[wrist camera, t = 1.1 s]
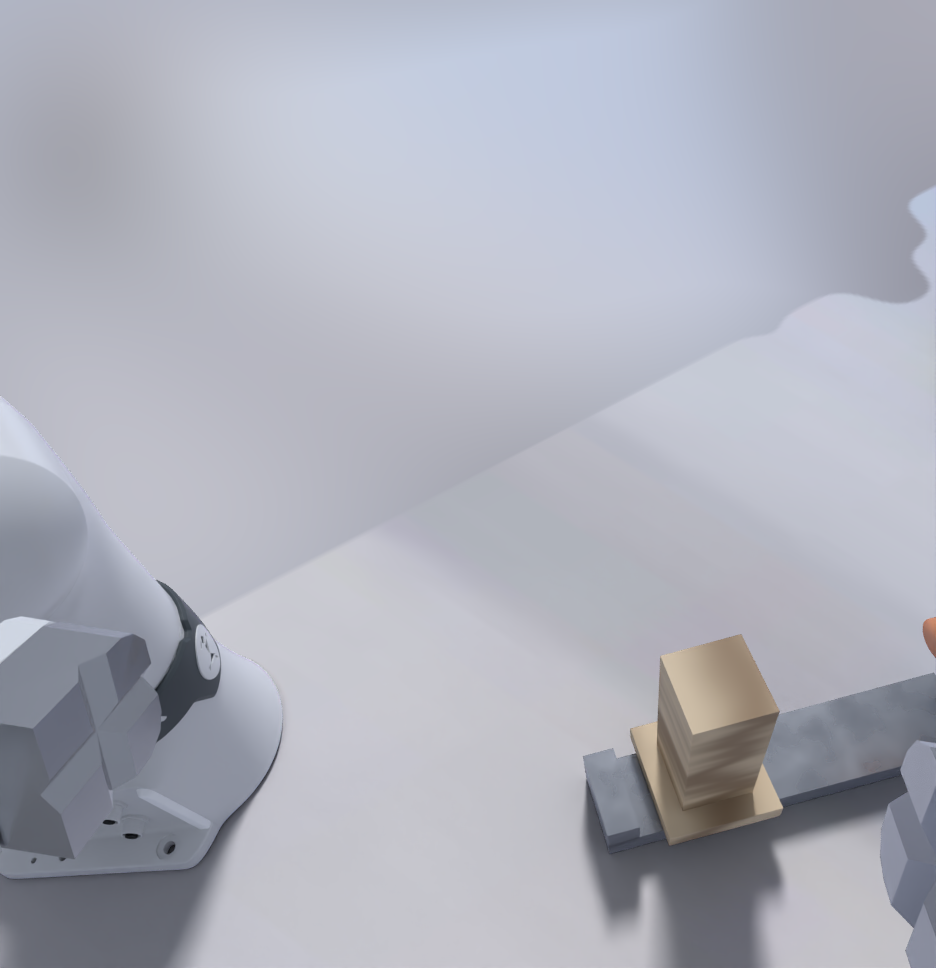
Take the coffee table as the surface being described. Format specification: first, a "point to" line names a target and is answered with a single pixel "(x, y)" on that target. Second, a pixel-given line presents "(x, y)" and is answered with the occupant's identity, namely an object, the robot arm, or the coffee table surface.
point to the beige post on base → (709, 742)
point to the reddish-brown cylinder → (930, 634)
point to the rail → (787, 756)
